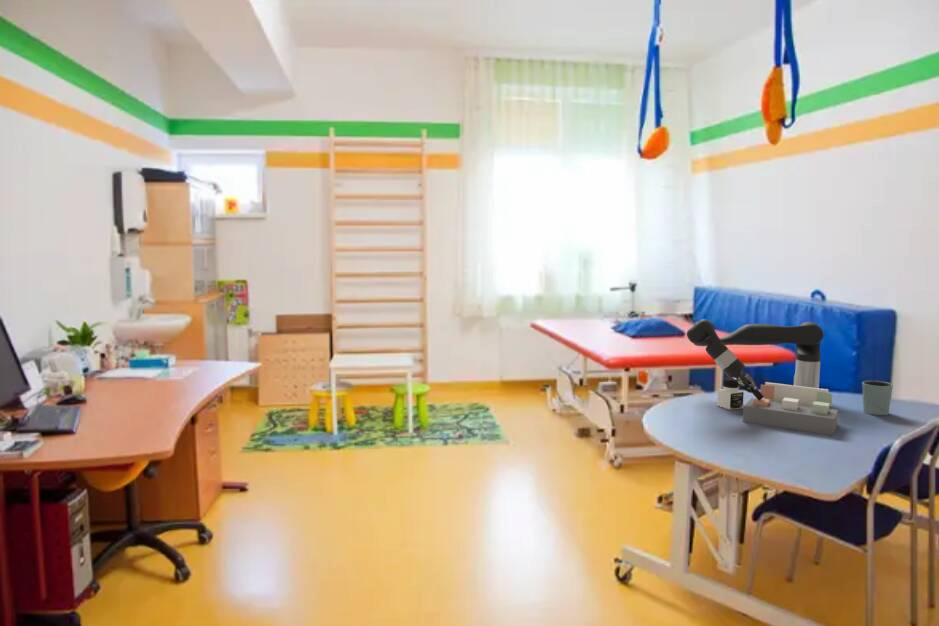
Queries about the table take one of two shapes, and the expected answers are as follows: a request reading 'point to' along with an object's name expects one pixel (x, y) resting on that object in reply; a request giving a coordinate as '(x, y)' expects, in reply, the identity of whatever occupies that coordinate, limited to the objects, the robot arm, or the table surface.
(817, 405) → the sage key
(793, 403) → the cream small block
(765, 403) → the terracotta key
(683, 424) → the table surface
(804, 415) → the key console
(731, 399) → the medicine bottle
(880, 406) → the green cup
